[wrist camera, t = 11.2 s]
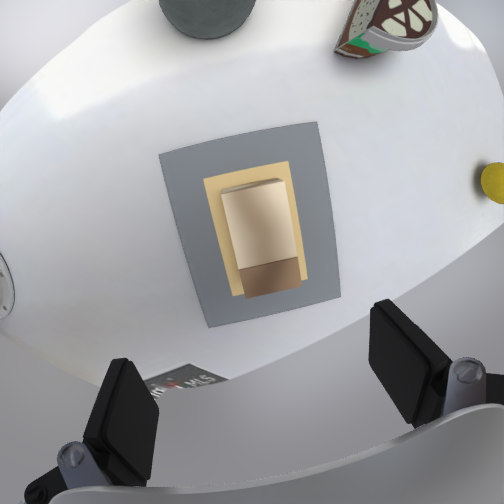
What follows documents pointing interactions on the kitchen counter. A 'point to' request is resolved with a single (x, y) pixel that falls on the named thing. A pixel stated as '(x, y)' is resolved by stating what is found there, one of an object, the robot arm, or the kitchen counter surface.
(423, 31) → the food container
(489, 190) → the lemon
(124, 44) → the kitchen counter surface
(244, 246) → the birch block
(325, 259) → the mat
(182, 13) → the bottle
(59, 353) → the kitchen counter surface
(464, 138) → the kitchen counter surface
